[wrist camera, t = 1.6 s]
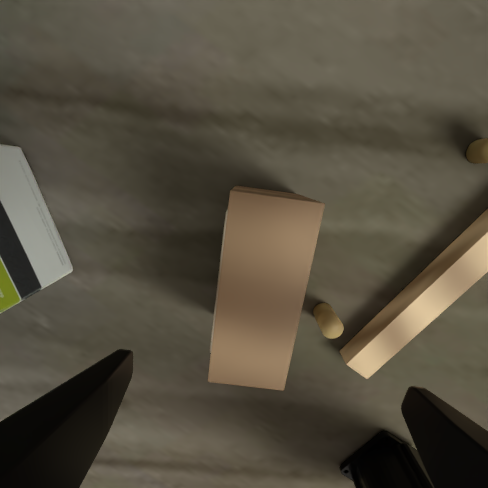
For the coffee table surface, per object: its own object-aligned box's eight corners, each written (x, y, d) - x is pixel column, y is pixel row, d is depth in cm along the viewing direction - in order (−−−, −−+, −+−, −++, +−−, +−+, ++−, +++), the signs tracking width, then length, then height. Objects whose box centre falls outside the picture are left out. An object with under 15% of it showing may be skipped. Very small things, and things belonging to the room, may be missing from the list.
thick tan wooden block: (271, 322, 21) (283, 390, 14) (218, 315, 21) (205, 381, 14) (296, 193, 18) (325, 203, 12) (234, 185, 18) (227, 190, 11)
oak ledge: (358, 365, 22) (372, 388, 20) (299, 322, 21) (306, 341, 19) (555, 184, 18) (603, 185, 15) (494, 119, 17) (536, 109, 14)
